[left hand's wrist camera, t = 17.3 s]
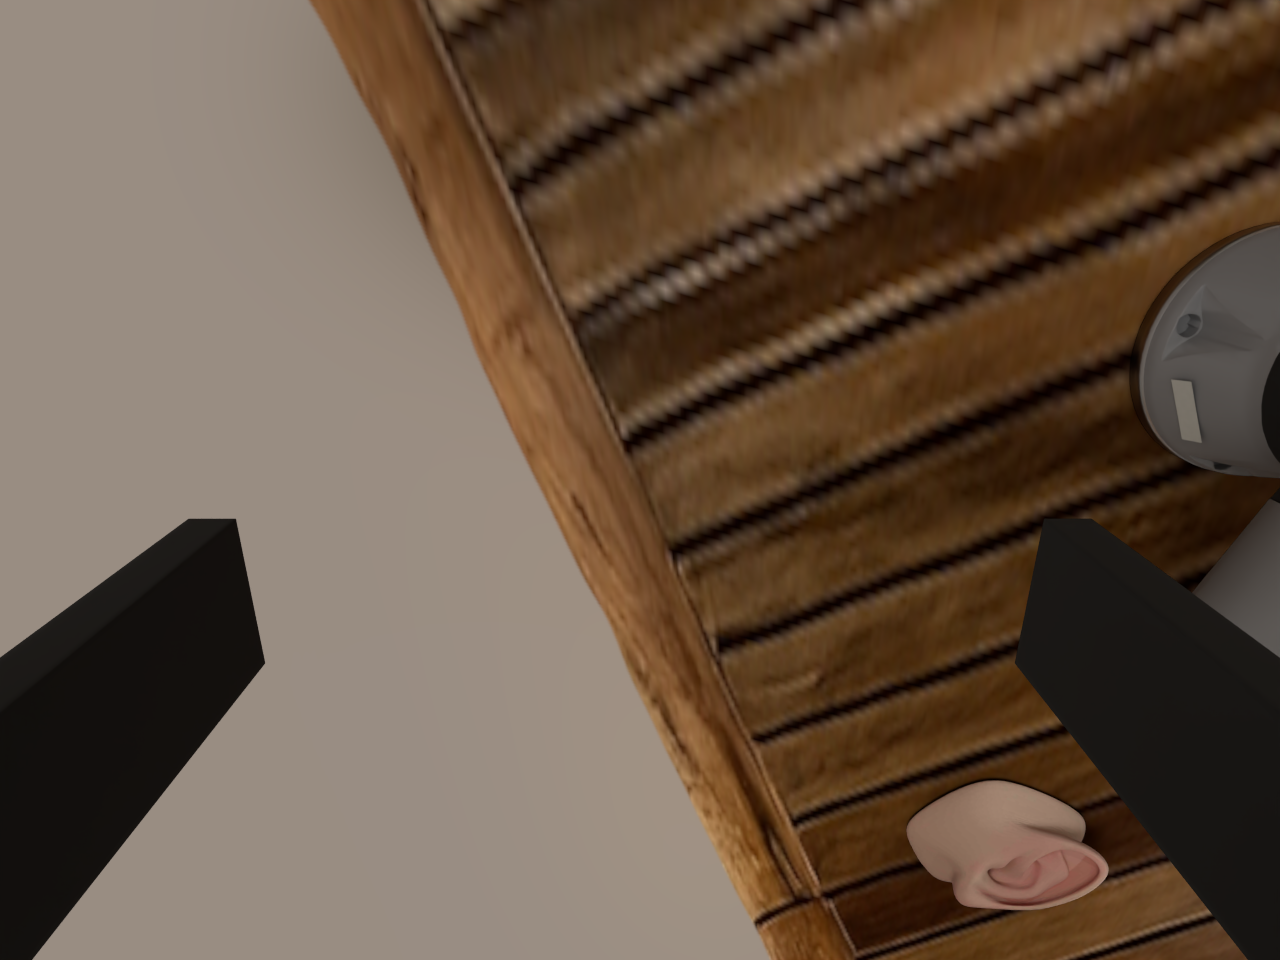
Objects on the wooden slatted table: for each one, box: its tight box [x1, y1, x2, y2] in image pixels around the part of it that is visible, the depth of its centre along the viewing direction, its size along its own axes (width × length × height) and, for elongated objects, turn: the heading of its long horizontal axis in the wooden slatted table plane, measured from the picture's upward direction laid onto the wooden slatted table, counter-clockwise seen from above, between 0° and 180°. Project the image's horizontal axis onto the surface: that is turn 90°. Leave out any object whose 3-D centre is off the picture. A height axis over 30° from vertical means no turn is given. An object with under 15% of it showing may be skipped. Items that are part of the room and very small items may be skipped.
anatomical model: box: [907, 780, 1108, 910], centre depth 60 cm, size 13×4×12 cm
